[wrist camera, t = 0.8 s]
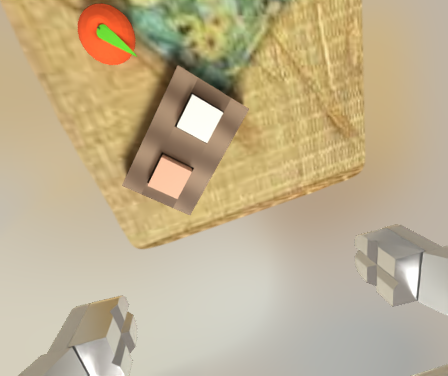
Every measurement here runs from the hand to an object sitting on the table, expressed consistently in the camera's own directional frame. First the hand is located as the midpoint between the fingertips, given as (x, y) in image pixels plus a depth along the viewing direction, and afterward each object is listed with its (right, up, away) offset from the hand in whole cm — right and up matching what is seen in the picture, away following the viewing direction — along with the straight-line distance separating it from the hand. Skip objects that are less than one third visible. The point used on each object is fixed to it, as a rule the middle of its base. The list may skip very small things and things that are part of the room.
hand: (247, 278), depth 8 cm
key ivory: (-5, +14, +29) cm, 33 cm away
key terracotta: (-10, +5, +32) cm, 33 cm away
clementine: (-16, +24, +28) cm, 40 cm away
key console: (-8, +11, +33) cm, 36 cm away
